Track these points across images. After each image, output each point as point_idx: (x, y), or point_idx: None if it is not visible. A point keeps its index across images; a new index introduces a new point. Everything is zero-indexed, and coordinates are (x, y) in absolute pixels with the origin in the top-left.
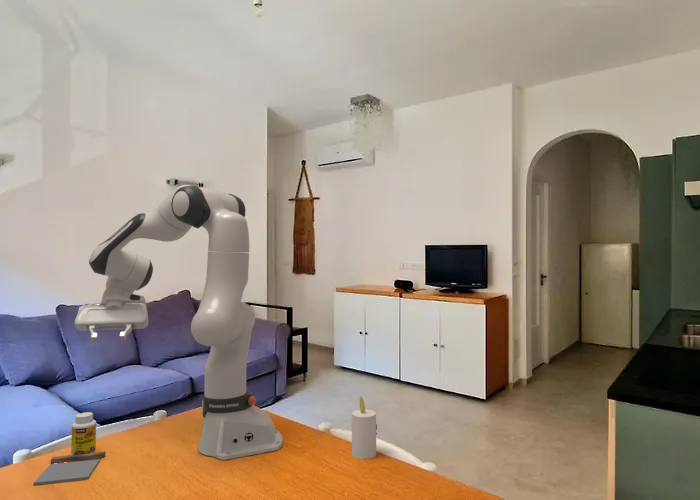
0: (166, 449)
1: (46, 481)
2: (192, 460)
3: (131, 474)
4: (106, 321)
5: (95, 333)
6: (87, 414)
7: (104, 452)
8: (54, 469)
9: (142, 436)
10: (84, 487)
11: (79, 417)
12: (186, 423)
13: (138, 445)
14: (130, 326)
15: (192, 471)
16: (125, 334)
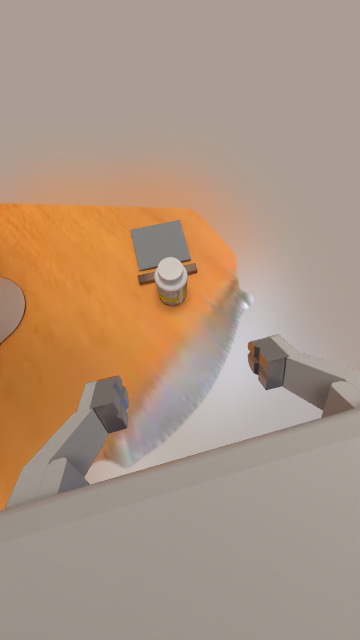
0: (68, 303)
1: (168, 222)
2: (28, 271)
3: (89, 240)
4: (269, 454)
5: (275, 357)
6: (164, 268)
7: (139, 279)
8: (177, 246)
9: (117, 352)
10: (126, 217)
11: (171, 257)
12: (60, 414)
13: (111, 318)
14: (23, 473)
15: (24, 245)
16: (83, 394)
